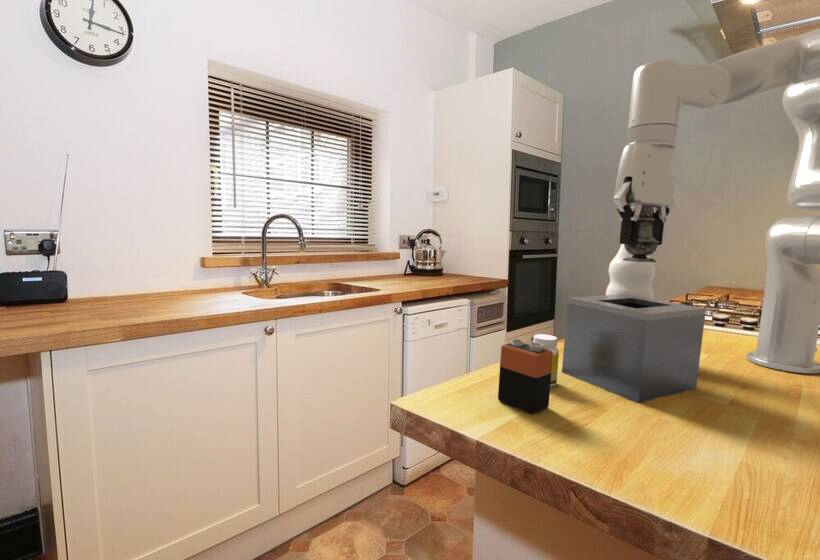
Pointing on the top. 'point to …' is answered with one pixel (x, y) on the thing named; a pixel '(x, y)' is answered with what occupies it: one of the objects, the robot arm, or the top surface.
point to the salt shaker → (643, 237)
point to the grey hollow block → (633, 345)
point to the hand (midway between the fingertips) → (640, 243)
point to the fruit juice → (630, 276)
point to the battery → (525, 375)
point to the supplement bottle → (551, 344)
